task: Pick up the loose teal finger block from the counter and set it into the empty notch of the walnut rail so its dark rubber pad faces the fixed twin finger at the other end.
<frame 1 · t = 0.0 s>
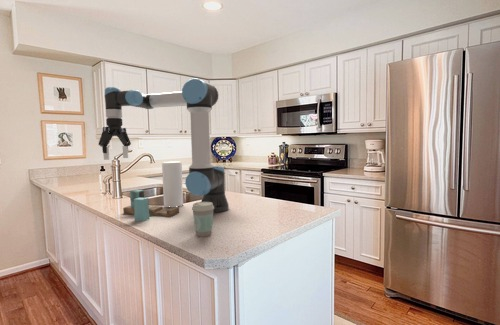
hand: (116, 158, 146), 28 cm above the counter, fingers open, 13 cm apart
coffee cup: (203, 234, 107), on the counter
tall pillar cylinder: (173, 205, 158), on the counter
finger block: (142, 219, 130), on the counter
rail: (151, 213, 142), on the counter
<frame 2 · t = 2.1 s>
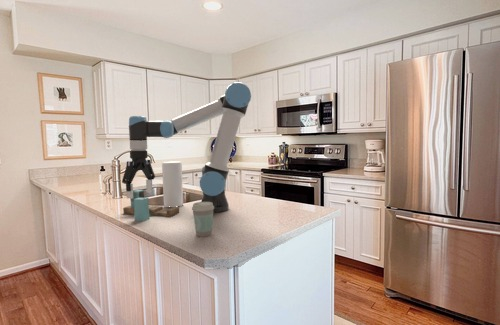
hand: (140, 195, 129), 11 cm above the counter, fingers open, 13 cm apart
nothing on the counter moved.
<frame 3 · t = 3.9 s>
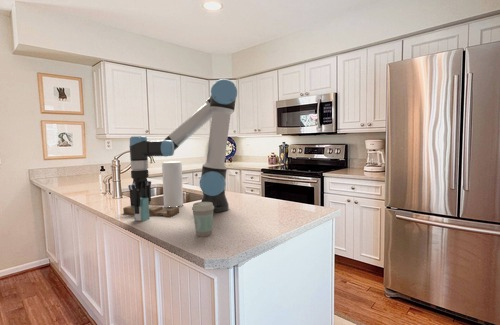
hand: (142, 218, 130), 0 cm above the counter, fingers closed on finger block, 4 cm apart
finger block: (142, 219, 130), on the counter, touching gripper
everything else where it was.
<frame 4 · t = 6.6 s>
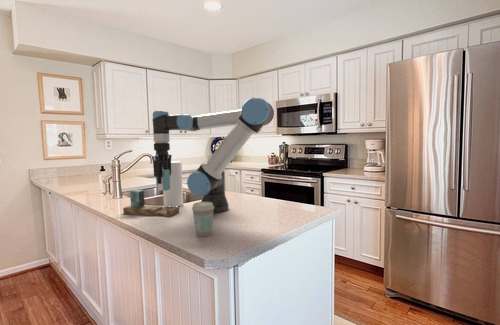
hand: (163, 189, 139), 13 cm above the counter, fingers closed on finger block, 4 cm apart
finger block: (163, 189, 139), point 12 cm above the counter, touching gripper
everything else where it was.
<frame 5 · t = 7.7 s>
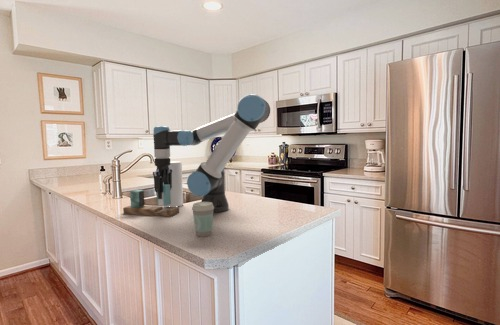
hand: (164, 204, 139), 5 cm above the counter, fingers closed on finger block, 4 cm apart
finger block: (164, 204, 139), point 5 cm above the counter, touching gripper
everything else where it was.
when the fingers open (3 cm above the counter, at t = 8.8 s): finger block drops 1 cm, resting on rail.
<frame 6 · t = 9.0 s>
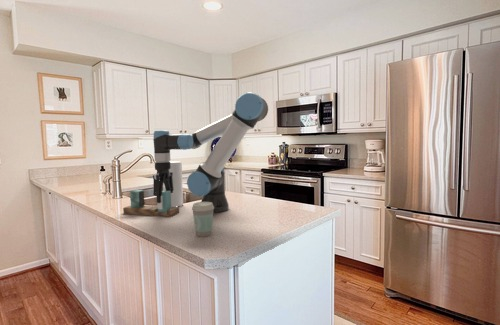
hand: (164, 207, 139), 3 cm above the counter, fingers open, 7 cm apart
finger block: (164, 211, 139), point 1 cm above the counter, touching rail
everything else where it was.
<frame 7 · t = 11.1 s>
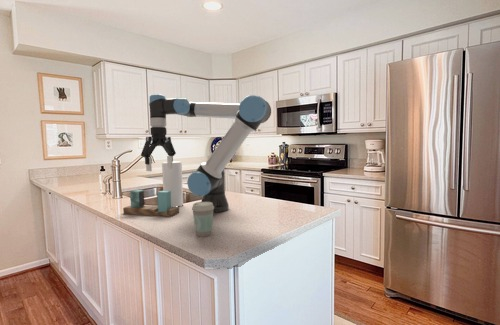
hand: (159, 169, 138), 22 cm above the counter, fingers open, 13 cm apart
nothing on the counter moved.
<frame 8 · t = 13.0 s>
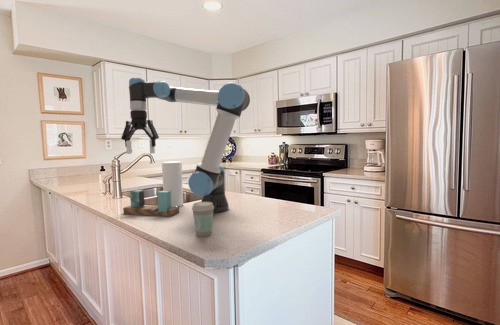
hand: (140, 153, 138), 31 cm above the counter, fingers open, 13 cm apart
nothing on the counter moved.
at the end: finger block 0.1 cm from the target spot on the rail, point 1.5 cm above the rail's base; finger block tilted 0°; the gripper is holding nothing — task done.
